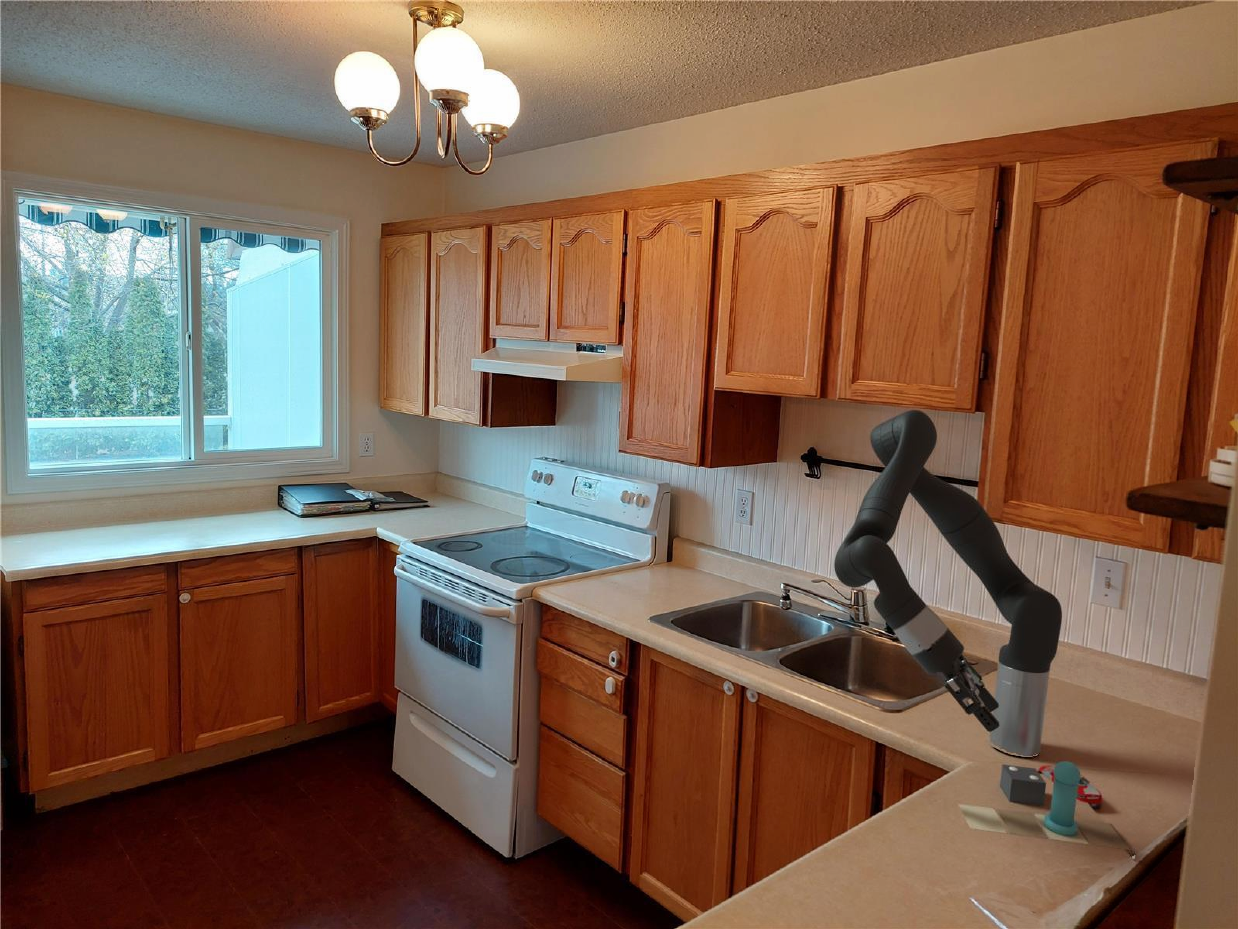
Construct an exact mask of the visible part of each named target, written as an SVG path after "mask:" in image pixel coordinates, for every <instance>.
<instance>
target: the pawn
mask: <svg viewBox="0 0 1238 929" xmlns="http://www.w3.org/2000/svg"><path fill="white" fill-rule="evenodd" d="M1054 766H1055V768H1054V776H1055V778H1054V782H1053V788H1052V793H1051V794H1052V795H1051V796H1052V797H1051V803H1050V811H1049V813H1046V814H1044V815H1045V818H1044V826H1045V827H1046V828H1047V829H1048V830H1050V831H1051V832H1053V833H1056V834H1059V835H1062V836H1075V835H1077V831H1078V830H1079V827H1078V824H1077V822H1076V821H1074V819H1075V814H1076V804H1077V799H1076V798H1077V790H1078V782H1079V781H1080V778H1081V775H1082V774H1081V771H1080V768H1079V767H1078V766H1077V765H1076V764H1075V763H1073V762H1071V761H1067V760H1063V761H1059V762H1058V763H1057V764H1056V765H1054Z"/></svg>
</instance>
